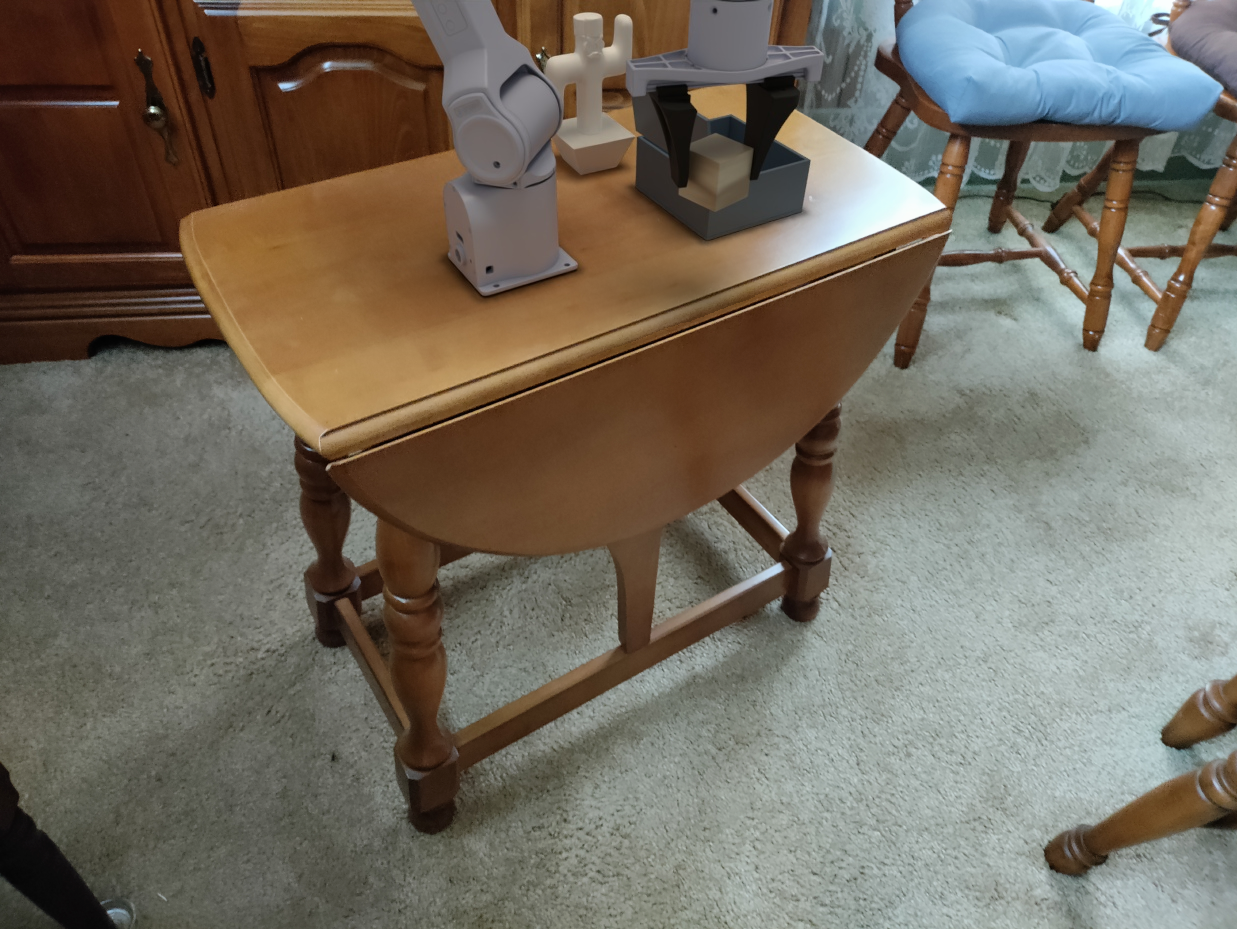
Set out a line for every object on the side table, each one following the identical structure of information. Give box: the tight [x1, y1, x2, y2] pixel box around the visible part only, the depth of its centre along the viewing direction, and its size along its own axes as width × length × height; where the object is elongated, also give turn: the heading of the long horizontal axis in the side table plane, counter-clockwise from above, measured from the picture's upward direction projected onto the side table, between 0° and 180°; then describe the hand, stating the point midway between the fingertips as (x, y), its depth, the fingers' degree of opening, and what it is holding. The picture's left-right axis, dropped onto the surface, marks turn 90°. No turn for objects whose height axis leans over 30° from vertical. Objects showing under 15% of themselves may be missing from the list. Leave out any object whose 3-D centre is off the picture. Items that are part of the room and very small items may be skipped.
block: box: [679, 133, 754, 212], centre depth 68 cm, size 4×4×4 cm
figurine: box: [544, 12, 637, 176], centre depth 89 cm, size 7×9×15 cm
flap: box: [630, 92, 711, 152], centre depth 80 cm, size 6×13×1 cm
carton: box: [634, 113, 812, 242], centre depth 86 cm, size 12×13×5 cm
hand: (715, 178), depth 68 cm, fingers closed on block, 5 cm apart
